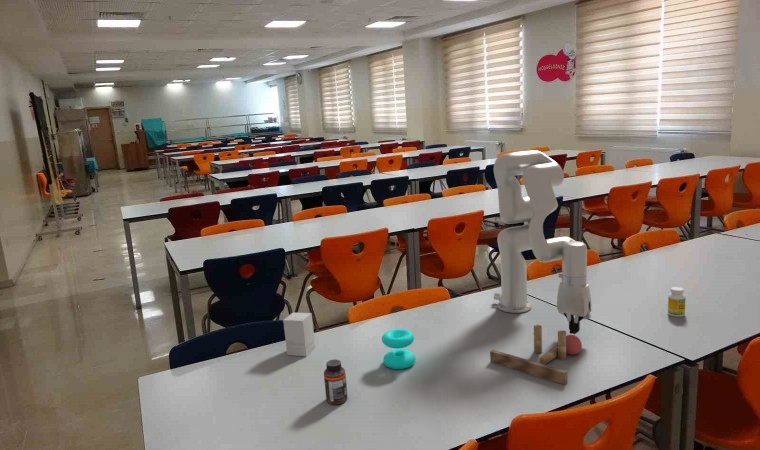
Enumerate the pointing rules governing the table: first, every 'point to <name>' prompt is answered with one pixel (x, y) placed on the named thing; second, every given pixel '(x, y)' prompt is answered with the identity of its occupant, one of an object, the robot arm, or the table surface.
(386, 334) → the donuts
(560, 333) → the right back pin
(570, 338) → the ball
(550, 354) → the front pin
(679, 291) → the supplement bottle
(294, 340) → the supplement box
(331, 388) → the supplement bottle
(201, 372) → the table surface
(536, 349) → the left back pin
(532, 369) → the back wall
